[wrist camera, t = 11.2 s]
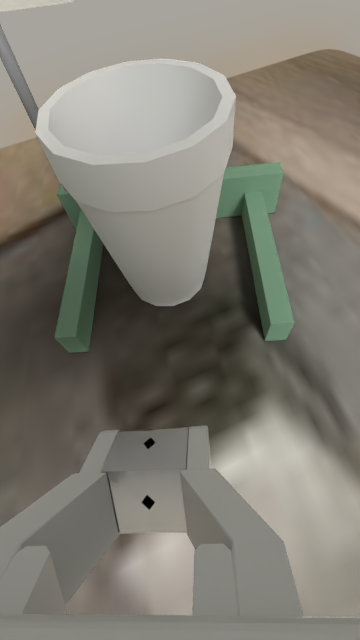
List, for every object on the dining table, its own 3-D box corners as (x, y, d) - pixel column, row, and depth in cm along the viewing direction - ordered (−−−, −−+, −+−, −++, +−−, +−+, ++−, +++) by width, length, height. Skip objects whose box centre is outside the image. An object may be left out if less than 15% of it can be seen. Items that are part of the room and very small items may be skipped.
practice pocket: (307, 338, 21) (567, -70, 6) (50, 353, 23) (-306, 50, 7) (271, 202, 29) (344, -144, 13) (77, 219, 30) (-68, -78, 14)
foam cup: (166, 220, 29) (137, 45, 17) (246, 266, 25) (275, 84, 14) (90, 283, 26) (-3, 121, 14) (169, 346, 22) (127, 196, 11)
